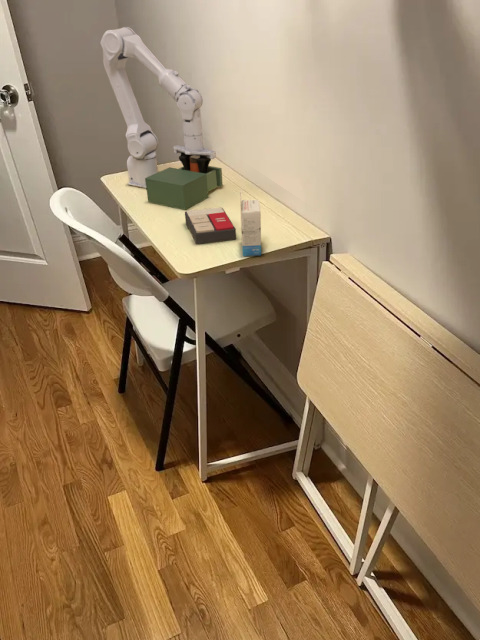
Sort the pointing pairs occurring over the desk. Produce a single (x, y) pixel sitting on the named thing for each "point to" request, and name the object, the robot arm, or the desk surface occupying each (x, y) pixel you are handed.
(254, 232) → the ink box
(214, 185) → the drawer
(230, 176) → the desk surface
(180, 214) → the desk surface
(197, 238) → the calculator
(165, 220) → the desk surface
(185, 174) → the cabinet
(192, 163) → the spice jar
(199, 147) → the robot arm
